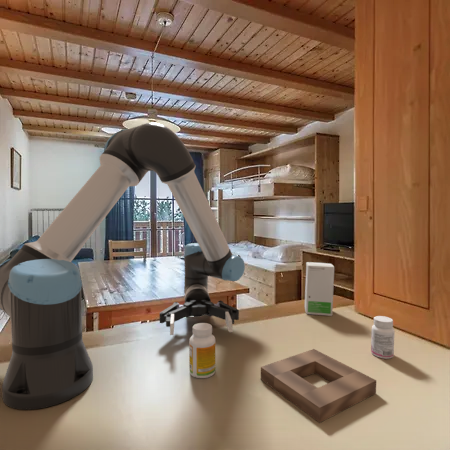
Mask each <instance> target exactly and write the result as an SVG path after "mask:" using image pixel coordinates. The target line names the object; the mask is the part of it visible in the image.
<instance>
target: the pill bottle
mask: <svg viewBox="0 0 450 450" xmlns="http://www.w3.org/2000/svg"><path fill="white" fill-rule="evenodd" d="M370 339H371V340H370V341H371V342H370V344H371V345H370V346H371V347H370V352H371V354H372V355H373V356H375V357H377V358H380V359H384V360H385V359H387V360H388V359H389V360H390V359H392V358H394V356H395V329H394V320H393V318H391V317H388V316H385V315H377V316H374V317H373V324H372V326H371V338H370Z"/></svg>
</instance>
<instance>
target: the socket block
mask: <svg viewBox="0 0 450 450" xmlns="http://www.w3.org/2000/svg"><path fill="white" fill-rule="evenodd" d="M312 374H317V376H320V377H322V378H324V379H325V380H327V381H328V383H325V384H323V385H321V386H319V387H318V386H315V385H314V384H312V383H311V382H310V381H308V380H306V379H305V378H306V377H308V376H310V375H312ZM260 380H261V381H263V382H264V383H265V384H267V385H268V386H269V387H270V388H272V389H273V390H275V391H276V392H277V393H278V394H280V395H281V396H283V397H284V398H285V399H287V400H288V401H289V402H291V403H292V404H294V405H295V406H296V407H297V408H299V409H300V410H302V411H303V412H305V413H306V414H307V415H309V416H310V417H311V418H312V419H313V420H315V421H316V422H318V423H321V422H324V421H325V420H327V419H329V418H331V417H333V416H336V415H338V414H339V413H341V412H343V411H345V410H347V409H349V408H351V407H353V406H355V405H356V404H359V403H360V402H362V401H364V400H366V399H368V398H369V397H371V396H373V395H376V394H377V379H375V378H373V377H370V376H369V375H367V374H365V373H363V372H360V371H359V370H356V369H355V368H352V367H350V366H349V365H347V364H345V363H343V362H341V361H339V360H337V359H335V358H333V357H331V356H329V355H326V354H325V353H324V352H321V351H319V350H317V349H315V348H313V349H309V350H306V351H303V352H301V353H297V354H295V355H291V356H289V357H286V358H283V359H280V360H277V361H274V362H272V363H271V362H270V363H269V364H265V365H263V366H260Z"/></svg>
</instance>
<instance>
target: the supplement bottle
mask: <svg viewBox="0 0 450 450" xmlns="http://www.w3.org/2000/svg"><path fill="white" fill-rule="evenodd" d="M212 333H213V326H212V324H210V323H207V322H199V323H195V324H194V325H193V326H192V335H191V336H190V337H189V340H188V341H189V343H188V346H189V347H188V349H189V351H188V352H189V356H188V357H189V358H188V360H189V362H188V363H189V364H188V365H189V366H188V367H189V368H188V369H189V370H188V371H189V374H190V375H191V377H193V378H197V379H207V378H211V377H212V376H213V375H214V374H215V373H216V368H217V367H216V365H217V364H216V337H215V335H213V334H212Z"/></svg>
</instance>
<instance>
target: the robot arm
mask: <svg viewBox="0 0 450 450" xmlns="http://www.w3.org/2000/svg"><path fill="white" fill-rule="evenodd" d="M190 153H191V152H189V149H188V148H187V147H186V144H184V142H183V141H182V140H181V138H179V136H178V135H177V133H175V132H174V131H173V130H172V129H170V128H168V126H166V125H164V124H161V123H157V122H146V123H142V124H140V125H137V126H134V127H131V128H124V129H121V130H118V131H116V132H115V133H114V134H113V135H111V136H110V137H109V138H108V139H107V140H106V142H105V145H104V151H103V152H102V153H101V154H100V156H99V163H100V165H99V167H98V168H97V169H95V171H94V172H93V174H92V175H91V176H90V177H89V179H88V180H87V181H86V182H85V183H84V184H83V186H82V187H81V188H80V189H79V190H78V192H77V193H76V194H75V195H74V196H73V197H72V199H70V201H69V202H68V204H66V206H65V207H64V208H63V210H62V211H60V213H58V216H56V218H55V219H54V220H53V221H52V222H51V224H49V226H48V227H47V228H46V230H45V231H44V232H43V233H42V234H41V235H40V236H39V238H38V239H37V240H36V241H32V242H31V241H30V242H26V243H24V244H23V245H22V246H21V247H20V249H19V250H18V251H17V252H16V253H15V254H14V255H13V257H12V258H8V259H5V261H3V262H2V263H0V310H1V311H2V312H4V313H5V314H6V315H7V316H8V317H10V327H11V346H12V347H11V348H12V349H11V351H12V353H11V355H10V356H11V357H10V360H9V361H8V362H9V363H8V366H7V369H6V373H5V376H4V379H3V381H2V387H1V392H2V395H1V397H2V401H3V403H4V404H5V405H7V406H8V407H10V408H12V409H15V410H16V409H18V410H36V409H37V410H39V409H43V408H49V407H51V406H52V407H53V406H56V405H59V404H61V403H65V402H67V401H69V400H71V399H73V398H75V397H77V396H79V395H80V394H81V393H83V392H84V391H85V390H86V389H88V388H89V387H90V385H91V384H92V381H93V379H94V366H93V363H92V359H91V358H90V356H89V353H88V350H87V347H86V346H85V342H84V340H83V339H84V338H83V306H82V305H83V304H82V301H83V300H82V287H83V283H82V282H83V281H82V278H81V270H80V269H79V266H78V265H77V264H75V263H73V262H72V261H73V260H74V259H75V257H76V256H77V255H78V253H79V252H80V251H81V249H82V248H83V247H84V246H85V244H86V243H87V242H88V241H89V239H90V238H91V236H92V235H93V233H94V232H95V231H96V230H97V229H98V227H99V226H100V225H101V224H102V222H103V221H104V219H105V218H106V217H107V216H108V214H109V213H110V212H111V211H112V209H113V208H114V207H115V205H116V204H117V202H118V201H119V200H120V199H121V197H122V196H123V195H124V194H125V192H126V191H127V190H128V189H129V188H130V187H136V186H138V185H139V183H141V181H142V180H143V178H144V177H145V176H146V174H147V173H148V172H152V171H153V172H154V173H155V174H156V175H157V176H158V178H159V180H160V182H161V183H163V184H165V185H167V187H168V188H169V190H170V192H171V195H172V196H173V198H174V199H175V202H176V204H177V206H178V208H179V210H180V212H181V213H182V216H183V217H184V220H185V221H186V224H187V225H188V227H189V229H190V231H191V233H192V234H193V237H194V239H195V241H196V242H194V243H193V242H192V243H188V244H186V245H185V246H184V254H183V255H184V256H183V260H184V262H183V263H184V288H183V289H184V290H183V292H184V303H183V304H180V303H179V302H178V301H175V302H173V303H172V305H170V306H168V307H167V308H165V309H163V310H162V311H160V312H159V323H160V324H163V323H165V327H168V328H169V330H170V331H169V335H170V336H174V335H175V334H174V332H175V323H176V322H177V321H180V320H182V319H183V318H190V317H197V318H199V317H203V316H207V317H216V318H219V319H222V320H225V321H224V322H225V324H226V327H227V330H228V332H229V333H233V325H235V320H236V321H239V319H240V310H239V309H238V308H236V307H233V306H232V305H229V304H227V303H225V302H224V301H223V300H221V299H220V300H218V301H217V303H214V302H213V301H212V300H211V297H210V294H209V290H208V289H209V287H208V285H209V284H208V282H209V281H208V277H211V278H215V279H219V280H224V281H229V282H237V281H238V280H240V279H241V278H242V277H243V275H244V273H245V269H246V268H245V266H246V265H245V261H244V259H243V258H242V257H241V256H239V255H236V254H233V253H232V250H231V249H230V245H228V242H227V239H226V237H225V235H224V233H223V231H222V229H221V227H220V225H219V223H218V221H217V218H216V216H215V214H214V212H213V210H212V207H211V205H210V203H209V201H208V199H207V196H206V194H205V193H204V190H203V188H202V186H201V183H200V182H199V180H198V177H197V175H196V173H195V169H196V163H195V161H194V159H193V157H192V155H191V154H190Z"/></svg>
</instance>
